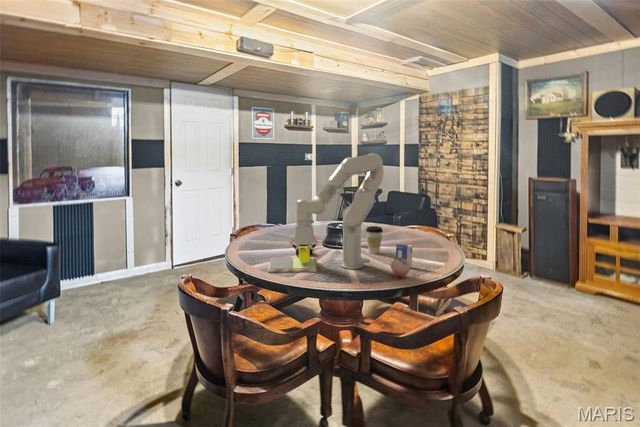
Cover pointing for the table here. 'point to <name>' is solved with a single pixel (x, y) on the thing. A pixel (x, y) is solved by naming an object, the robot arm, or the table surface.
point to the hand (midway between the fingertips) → (304, 256)
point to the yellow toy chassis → (304, 253)
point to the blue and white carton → (404, 252)
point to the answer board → (291, 265)
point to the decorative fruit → (400, 267)
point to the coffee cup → (374, 239)
